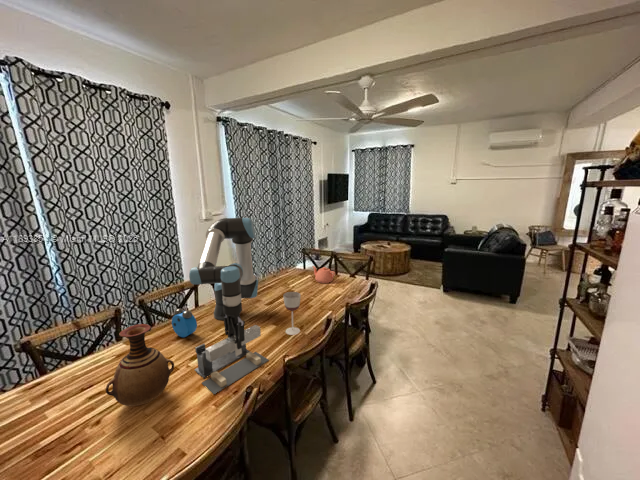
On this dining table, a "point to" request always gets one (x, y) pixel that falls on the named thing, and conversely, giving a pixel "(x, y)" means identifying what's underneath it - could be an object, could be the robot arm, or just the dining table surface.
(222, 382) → the rests
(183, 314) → the alarm clock
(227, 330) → the robot arm
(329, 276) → the teapot
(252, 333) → the rail
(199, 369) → the stand
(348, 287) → the dining table surface
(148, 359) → the vase
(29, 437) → the dining table surface
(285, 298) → the wineglass
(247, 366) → the mat
